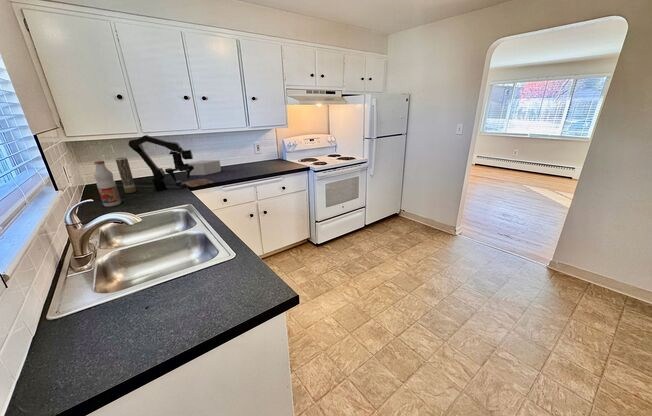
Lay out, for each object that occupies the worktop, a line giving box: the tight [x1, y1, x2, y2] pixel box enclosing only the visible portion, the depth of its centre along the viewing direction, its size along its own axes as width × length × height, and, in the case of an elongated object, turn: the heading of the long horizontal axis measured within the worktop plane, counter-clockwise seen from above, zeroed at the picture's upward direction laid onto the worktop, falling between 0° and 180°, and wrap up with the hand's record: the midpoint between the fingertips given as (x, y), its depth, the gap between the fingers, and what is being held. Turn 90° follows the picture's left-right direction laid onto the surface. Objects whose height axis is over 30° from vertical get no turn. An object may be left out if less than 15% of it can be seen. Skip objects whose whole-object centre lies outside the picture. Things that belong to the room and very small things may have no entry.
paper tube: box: [115, 157, 137, 194], centre depth 193 cm, size 7×7×25 cm
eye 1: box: [175, 180, 183, 187], centre depth 213 cm, size 4×4×3 cm
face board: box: [182, 178, 215, 188], centre depth 219 cm, size 18×18×1 cm
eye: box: [179, 182, 188, 189], centre depth 207 cm, size 4×4×3 cm
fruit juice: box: [93, 160, 122, 207], centre depth 168 cm, size 9×9×28 cm
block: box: [185, 159, 222, 176], centre depth 248 cm, size 15×30×11 cm, turn 119°
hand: (182, 180), depth 205 cm, fingers open, 9 cm apart
